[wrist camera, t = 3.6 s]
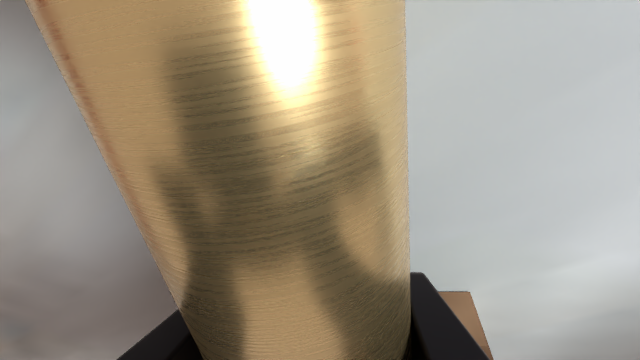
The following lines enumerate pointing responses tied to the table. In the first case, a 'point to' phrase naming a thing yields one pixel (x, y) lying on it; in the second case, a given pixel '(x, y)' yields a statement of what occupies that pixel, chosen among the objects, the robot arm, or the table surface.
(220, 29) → the tube
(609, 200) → the table surface
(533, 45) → the table surface
